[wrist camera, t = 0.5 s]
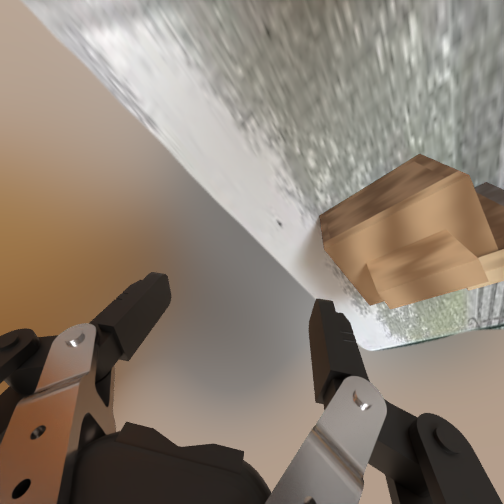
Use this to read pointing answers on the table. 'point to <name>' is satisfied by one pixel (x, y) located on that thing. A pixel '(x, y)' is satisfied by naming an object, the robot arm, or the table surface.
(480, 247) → the lid
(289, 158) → the table surface
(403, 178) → the brown wooden box
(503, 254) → the light wooden plank
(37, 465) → the robot arm
